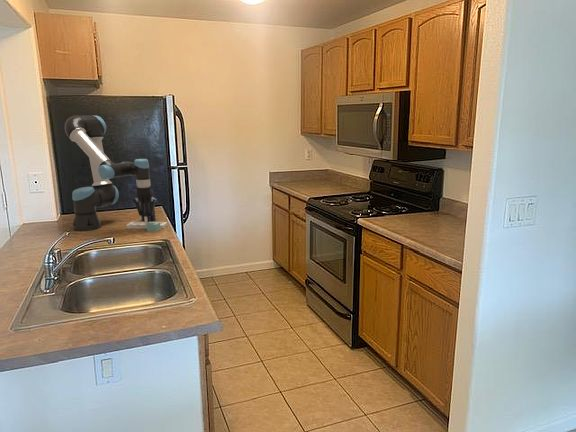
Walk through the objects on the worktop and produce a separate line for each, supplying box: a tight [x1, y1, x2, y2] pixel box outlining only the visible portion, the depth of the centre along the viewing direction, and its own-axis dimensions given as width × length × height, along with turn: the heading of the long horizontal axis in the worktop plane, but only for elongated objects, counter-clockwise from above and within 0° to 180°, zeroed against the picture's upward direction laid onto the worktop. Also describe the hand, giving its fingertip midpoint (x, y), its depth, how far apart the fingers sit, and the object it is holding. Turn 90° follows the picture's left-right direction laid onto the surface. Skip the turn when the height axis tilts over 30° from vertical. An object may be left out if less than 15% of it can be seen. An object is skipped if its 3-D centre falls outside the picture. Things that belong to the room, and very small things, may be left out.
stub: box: [146, 221, 162, 232], centre depth 246 cm, size 6×5×4 cm
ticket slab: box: [125, 221, 169, 230], centre depth 254 cm, size 22×8×2 cm, turn 87°
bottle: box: [139, 189, 157, 222], centre depth 266 cm, size 9×9×30 cm
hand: (147, 227), depth 247 cm, fingers closed
